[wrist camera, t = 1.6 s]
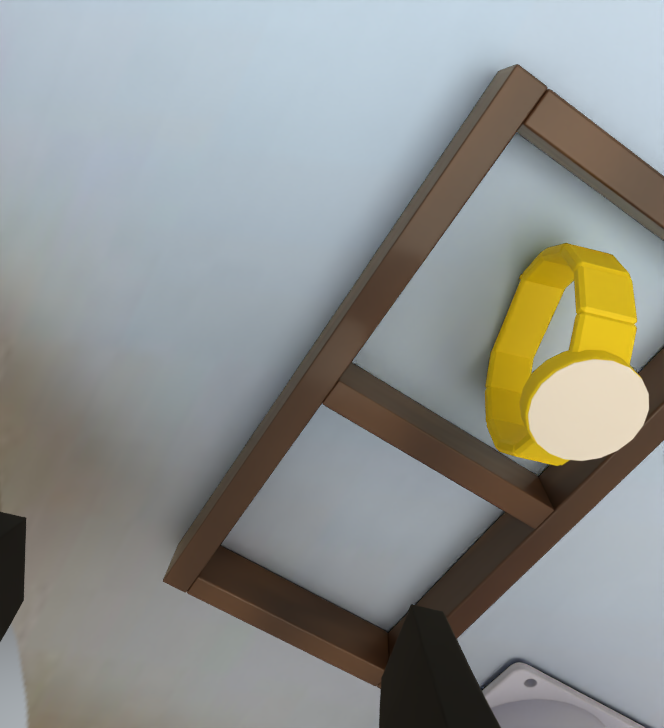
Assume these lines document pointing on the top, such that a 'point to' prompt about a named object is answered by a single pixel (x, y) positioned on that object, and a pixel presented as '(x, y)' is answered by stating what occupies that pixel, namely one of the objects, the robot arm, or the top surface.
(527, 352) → the watch
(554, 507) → the holder
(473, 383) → the top surface
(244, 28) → the top surface
